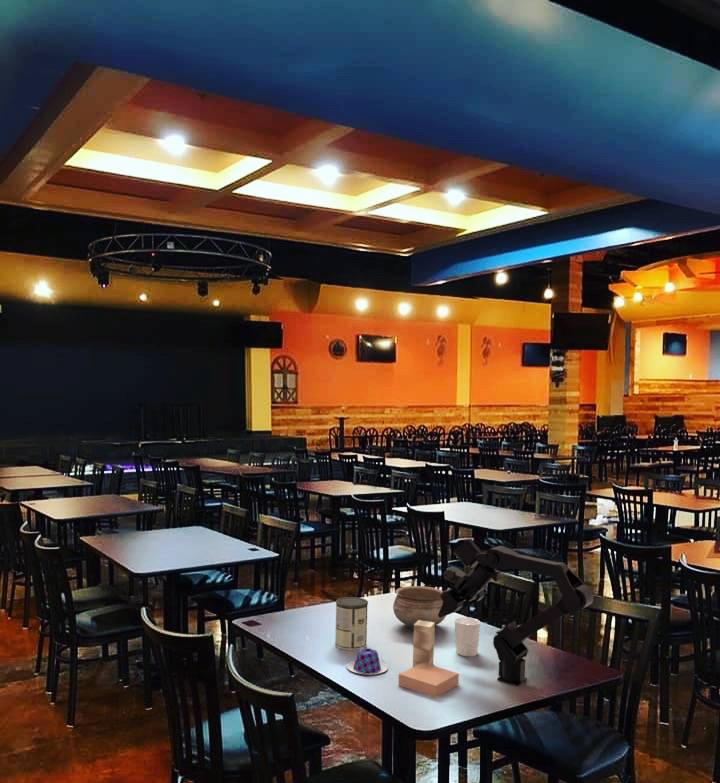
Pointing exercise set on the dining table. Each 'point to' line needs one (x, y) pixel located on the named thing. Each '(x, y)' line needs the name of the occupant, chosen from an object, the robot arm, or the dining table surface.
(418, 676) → the terracotta base
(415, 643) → the maple block
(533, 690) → the dining table surface
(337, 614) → the coffee can
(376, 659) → the pudding
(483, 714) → the dining table surface
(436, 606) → the cooking pot
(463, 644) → the white cup
